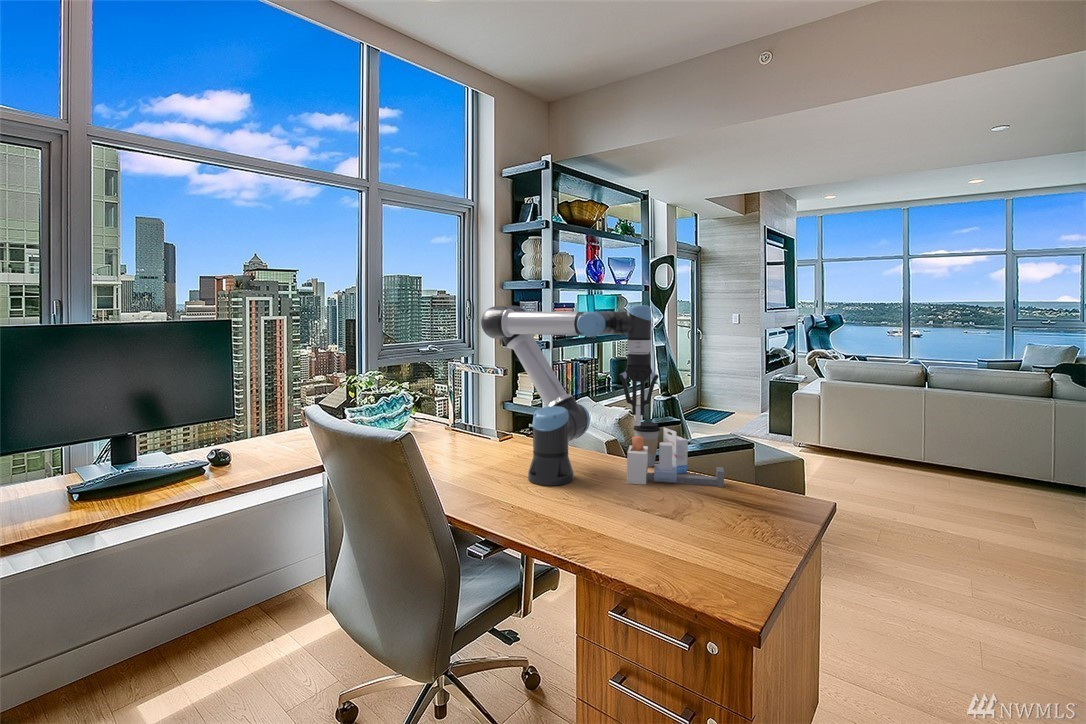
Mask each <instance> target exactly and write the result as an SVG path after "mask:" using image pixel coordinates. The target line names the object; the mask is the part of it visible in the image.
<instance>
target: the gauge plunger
mask: <svg viewBox="0 0 1086 724" xmlns="http://www.w3.org/2000/svg"><path fill="white" fill-rule="evenodd" d="M643 439H644V438H643V437H641V436H636V435H634V436H632V439H631V440H632V441H631V444H632V445H631V446H632V450H635V451H642V450H643Z"/></svg>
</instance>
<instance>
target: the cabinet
mask: <svg viewBox="0 0 1086 724" xmlns="http://www.w3.org/2000/svg"><path fill="white" fill-rule="evenodd" d="M628 446H629V447H628V450H627V452H626V453H627V454H626V455H627V458H626V459H627V463H626V465H627V468H626V470H627V471H626V483H627V484H630V485H631V484H633V485H635V484H636V485H647V481H646V479H647V473H648V468H649V467H648V446H643V450H642V451H635V450H632V445H631V444H630V445H628Z"/></svg>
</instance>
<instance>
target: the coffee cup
mask: <svg viewBox="0 0 1086 724" xmlns="http://www.w3.org/2000/svg"><path fill="white" fill-rule="evenodd" d="M633 430H634V432H635V433H634V434H635V436H641V437H643V438H644V439H643V446H648V468H649V467H651V468H652V467H655V464H656V455H657V452H658V451H657V450H658V443H659V432H660V431H661V427H660V426H659V424H658V422H657V423H656V422H654V421H641V425H640V426H636V424H635V425H634V426H633Z"/></svg>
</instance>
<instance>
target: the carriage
mask: <svg viewBox="0 0 1086 724" xmlns="http://www.w3.org/2000/svg"><path fill="white" fill-rule="evenodd" d="M658 449H659V450H658V451H659V452H658V453H659V455H658V459H659V461H658V463H655V465H654V470H653V473H654V481H664V482H663V483H666V482H676V479H677V475H678V474H677V465H672V443H663V441H662V442H659V448H658Z"/></svg>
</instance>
